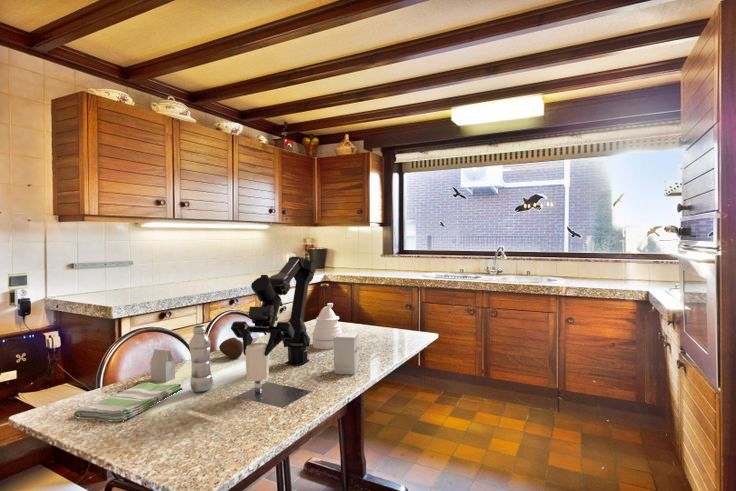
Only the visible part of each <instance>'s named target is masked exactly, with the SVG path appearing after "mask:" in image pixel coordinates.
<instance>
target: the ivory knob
mask: <svg viewBox="0 0 736 491" xmlns="http://www.w3.org/2000/svg"><path fill="white" fill-rule="evenodd" d="M267 344H268V343H266V342H254V343H253V342H252V343H251V344H249V345H247V346H246V349H245V352H246V355H245V373H246V380H247V381H250V382H252V381H253V382H254V381H260V380H261V381H263V380H266V379H268V377H269V376H270V368H269V364H270V362H269V354H268V355H267V356H265V350H266V347H267Z"/></svg>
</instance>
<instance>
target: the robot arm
mask: <svg viewBox="0 0 736 491" xmlns="http://www.w3.org/2000/svg"><path fill="white" fill-rule="evenodd" d="M315 273H316V264H315V263H314V262H313V261H311V260H308V259H306V258H304V257H303V256H291V257H289V258H288V260H287V262H286V263H285V264H284V266H283V267H282V268H281V269H280V270H279V271H278V273H276V274H273V275H271V276H268V274H260V277H257V278H256V279H254V281H252V283H251V285H250V286H251V289H252V291H253V293H254V294H255V296H256V297H257V300H258V301H260V302H261V305H260V306H249V309H248V315H247V317H248V319H251V322H252V324H254V325H249V324H248V322H246V320H245V321H241V320H237V321H233V322H232V323H231V326H230V329H231V331H232V332H233V334H234V336H235V338H237V339H242V345H243V352H242V355H244V356H246V352H245V349H246V346H247V345H249V344H253V340H254V338H253V336H252V333H255V334H256V333H258V334H261V333H262V334H268V333H269V337H268V341H267V343H266V344H267V347H266V350H265V356H267V355H268V356H269V354H270V353H271V352H272V351H273V350H274V349H275V348H276V347H277V346H278V345H279V344H280V343H281V342H282V344H283V347H284V348H287V357H288V358H287V361H285V364H288V365H292V366H301V365H303V364H305V363H308V362H309V361H310V359H309V358H308V350H307V348H308V347H310V345H311V344H310V343H311V338H310V336H309V335H308V333H307V326H306V324H305V322H304V317H305V310H306V301H307V295H308V289H309V288H308V287H309V284H310V283H311V282H312V281H313V279H314V276H315ZM293 278H294V280H295V287H294V294H293V298H292V299H293V300H292V306H291V312H290V313H291V314H290V318H289V319H288V321H278V320H279V318H278V317H279V316H278V313H279V310H280V307H283V306H284V305H283V302H282V298H281V296H286V295H288V292H289V291H290V289H291V281H292V280H293ZM277 321H278V322H277ZM275 323H276V324H275Z"/></svg>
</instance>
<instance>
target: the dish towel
mask: <svg viewBox="0 0 736 491" xmlns="http://www.w3.org/2000/svg"><path fill="white" fill-rule="evenodd" d="M180 390H182V391H183V388H182V384H181V383H173V384H157V383H153V382H141V383H139V384H137V385H134V386H132V387H130V388H127V389H125V390H123V391H120V392H119V393H116V394H115V395H113V396H110V397H107V398H105V399H103V400H101V401H98V402H96V403H94V404H93V405H89V406H83V407H79V408H77V409H76V410H75V411H74V412H73V417H74V418H75V417H80V418H79V419H81V418H85V419H84V420H94V419H97V420H96V421H105V420H113V421H112V422H118V421H123V420H126V419H127V420H129V419H131V418H130V417H132V416H134V415H135V414H137V415H139V414H141V413H143V412H145V411H146V410H145V409H147V408H149V407H150V406H152V405H154V404H156V403H157V402H159V401H161V402H163V401H162V400H164V399H165V398H167V397H169V396H171V395H173V394H174V393H176V394H178V393H179V392H178V391H180ZM177 392H178V393H177ZM180 392H181V391H180ZM173 396H174V395H173ZM171 397H172V396H171ZM169 398H170V397H169ZM167 399H168V398H167ZM165 400H166V399H165ZM165 400H164V401H165ZM159 403H160V402H159ZM156 405H157V404H156ZM154 406H155V405H154ZM152 407H153V406H152ZM150 408H151V407H150ZM150 408H149V409H150ZM144 410H145V411H144ZM147 410H148V409H147ZM142 411H143V412H142ZM138 413H139V414H138ZM135 416H136V415H135ZM135 416H134V417H135ZM128 418H129V419H128ZM132 418H133V417H132ZM127 420H126V421H127Z"/></svg>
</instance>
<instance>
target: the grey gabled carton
mask: <svg viewBox="0 0 736 491" xmlns="http://www.w3.org/2000/svg"><path fill="white" fill-rule="evenodd" d="M149 363H150V365H149V366H150V381H153V380H154V382H155V381H156V382H160V381H162V382H163V383H167V382H170V381H173V380H176V366H175V365H176V364H175V360H174V358H173V356H172V353H171V350H167V349H166V350H165V349H156V348H155V349H154V350H153V352H152V357H151V359H150V362H149Z"/></svg>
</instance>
